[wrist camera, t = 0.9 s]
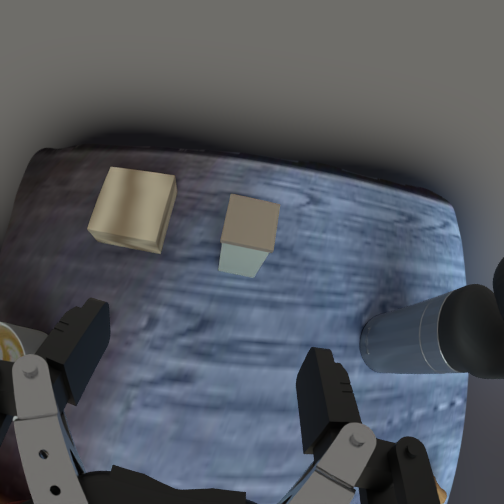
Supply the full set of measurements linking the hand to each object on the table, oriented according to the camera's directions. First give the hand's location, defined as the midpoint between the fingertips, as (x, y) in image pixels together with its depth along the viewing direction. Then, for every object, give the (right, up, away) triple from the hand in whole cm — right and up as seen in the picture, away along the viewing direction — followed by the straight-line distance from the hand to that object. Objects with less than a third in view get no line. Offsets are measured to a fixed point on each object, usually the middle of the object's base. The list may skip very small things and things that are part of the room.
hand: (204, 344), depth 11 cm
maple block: (-15, +9, +32) cm, 36 cm away
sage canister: (0, +3, +32) cm, 32 cm away
